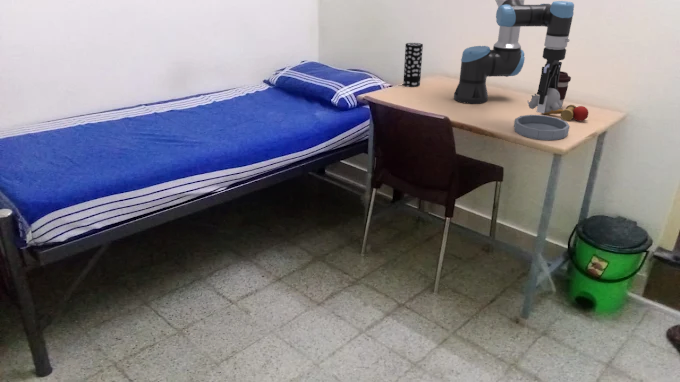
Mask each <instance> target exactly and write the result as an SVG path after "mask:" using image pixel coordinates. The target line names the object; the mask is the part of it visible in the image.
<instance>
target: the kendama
mask: <svg viewBox="0 0 680 382" xmlns="http://www.w3.org/2000/svg"><path fill="white" fill-rule="evenodd" d="M541 115H560V118H561V120H563V121H566V122H567V121H569V122H570V121H571V120H572V119H574V120H575V121H577V122H583V121H585V120H587V118H588V117H589V110H588V108H587V107H585V106H582V105H579V106H576V104H568V105H567V106H566V107H565V109H562V108H560V109H558V110H556V111H553V110H551V111H550V112H544V113H541Z"/></svg>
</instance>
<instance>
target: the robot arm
mask: <svg viewBox="0 0 680 382" xmlns="http://www.w3.org/2000/svg"><path fill="white" fill-rule="evenodd" d="M495 2H496V6H497V9H496V14H495V21H496V24H497V25H498V26H499V29H498V36H497V37H498V38H497V41H496V42H495V43H493V48H492V49H491V47H490V46H488V45H482V46H481V45H477V46H476V45H474V46H469V47H467V48H465V49H464V50H463V51H462V55H461V59H460V62H461V63H460V73H459V81H458V84H457V87H456V89H455V92H454V94H453V99H454V101H456V102H458V103H459V102H460V103H463V104H470V105H473V104H474V105H478V104H479V105H480V104H484V103H486V102H488V99H489V92H488V89H487V77H489V78H490V77H506V78H508V77H515V76H517V75H519V73H521V71H522V69H523V67H524V63H525V59H526V58H525V52H524V50H523V49H522V46H521V44H520V43H519V39H520V31H521V28H522V27H545V28H546V34H545V39H544V40H545V41H544V48H543V51H542V59H544V60H546V62H545V64H544V66H542V67H541V74H540V78H539V79H540V80H539V84H538V89H537V93H536V95H539V100H538V106H536V107H537V108H536V113H540V114H542V113H544V112H545V107H546V101H547V91H548V88H554V89H556V88H558V82H559V76H560V71H561V68H562V64H563V62H562V61H563V60H565V59H566V54H567V53H566V52H567V49H566V48H567V47H568V43H569V42H570V38H569V36H570V32H571V26H572V22H573V16H574V8H575V4H574V2H572V1H566V0H554V1H552V3H551V4H550V3H540V4H525V0H495ZM556 90H557V91H558V89H556ZM542 91H543V92H542Z"/></svg>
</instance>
